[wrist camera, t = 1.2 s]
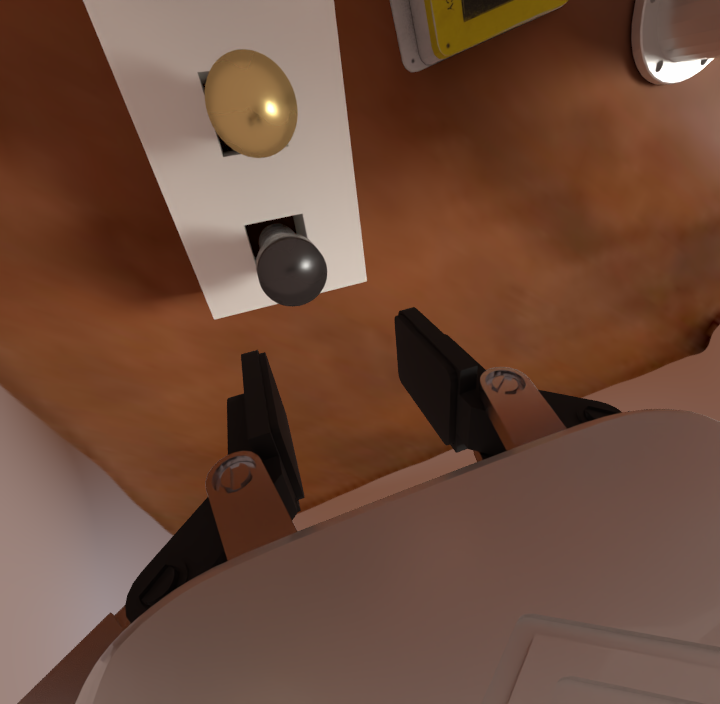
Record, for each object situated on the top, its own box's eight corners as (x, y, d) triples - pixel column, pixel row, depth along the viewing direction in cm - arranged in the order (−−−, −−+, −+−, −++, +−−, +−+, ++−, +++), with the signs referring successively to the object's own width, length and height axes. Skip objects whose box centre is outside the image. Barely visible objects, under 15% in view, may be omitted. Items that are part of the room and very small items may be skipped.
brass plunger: (268, 67, 21) (286, 44, 15) (285, 145, 23) (305, 150, 17) (198, 75, 20) (189, 54, 14) (222, 155, 22) (223, 164, 16)
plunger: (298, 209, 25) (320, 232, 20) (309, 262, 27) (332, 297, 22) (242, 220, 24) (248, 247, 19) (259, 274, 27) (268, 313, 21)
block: (283, -161, 19) (303, -257, 15) (345, 259, 33) (366, 281, 28) (40, -164, 17) (-32, -279, 12) (215, 289, 31) (214, 319, 26)
